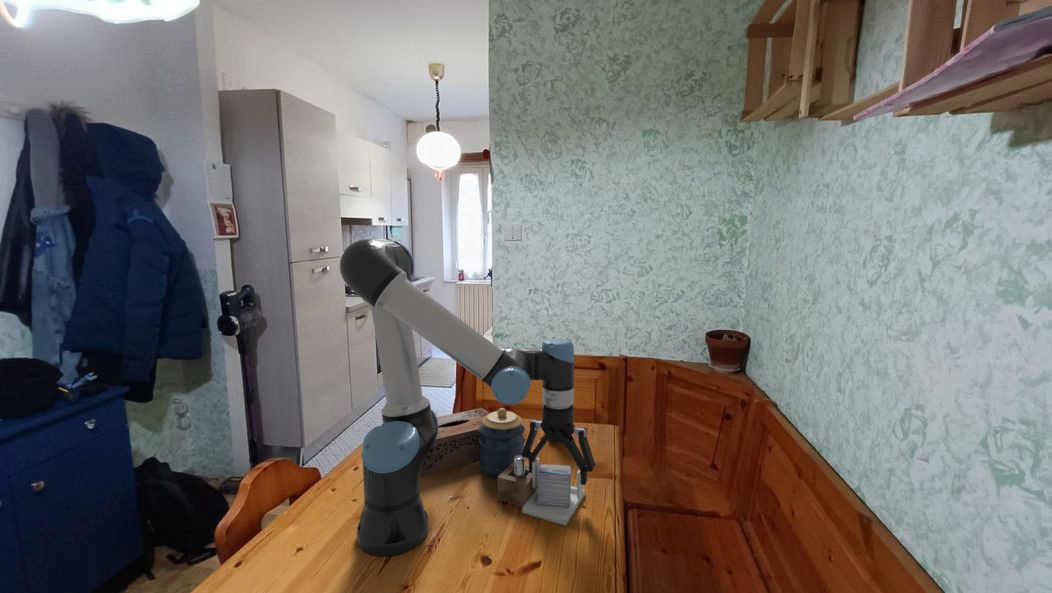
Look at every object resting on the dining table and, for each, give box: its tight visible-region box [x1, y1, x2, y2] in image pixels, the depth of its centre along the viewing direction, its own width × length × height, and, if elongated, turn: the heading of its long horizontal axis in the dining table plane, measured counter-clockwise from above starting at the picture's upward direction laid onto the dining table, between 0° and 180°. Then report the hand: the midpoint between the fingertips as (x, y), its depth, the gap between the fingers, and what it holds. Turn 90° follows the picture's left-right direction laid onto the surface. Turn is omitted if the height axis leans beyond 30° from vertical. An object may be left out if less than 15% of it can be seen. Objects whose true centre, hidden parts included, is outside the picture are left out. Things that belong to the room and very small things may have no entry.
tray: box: [521, 485, 586, 527], centre depth 112 cm, size 11×14×2 cm
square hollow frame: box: [497, 463, 538, 507], centre depth 115 cm, size 8×8×6 cm
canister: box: [478, 407, 526, 479], centre depth 128 cm, size 13×13×18 cm
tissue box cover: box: [419, 407, 491, 477], centre depth 136 cm, size 26×14×10 cm, turn 122°
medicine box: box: [538, 463, 572, 507], centre depth 111 cm, size 8×4×9 cm, turn 84°
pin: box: [514, 455, 526, 479], centre depth 115 cm, size 3×3×10 cm
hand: (557, 490), depth 111 cm, fingers open, 11 cm apart
